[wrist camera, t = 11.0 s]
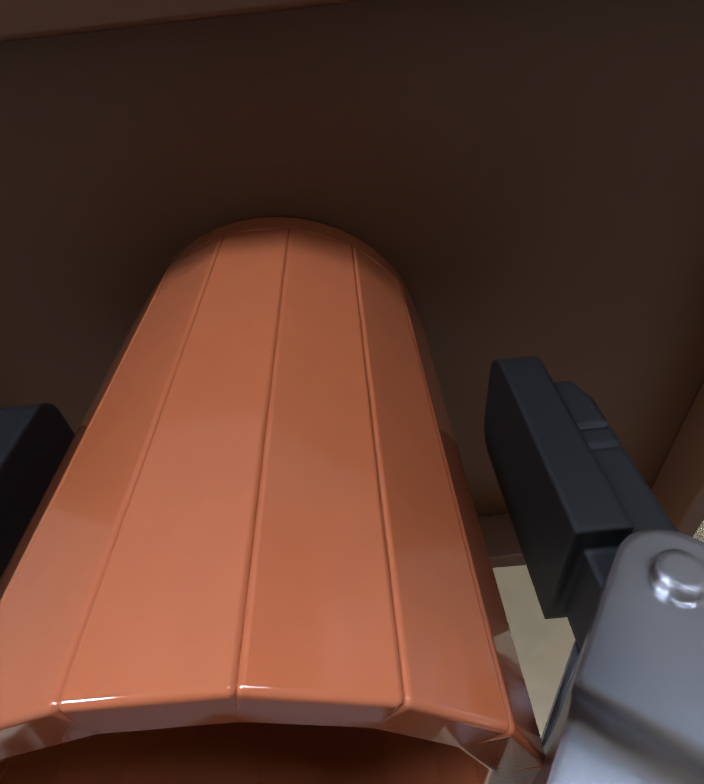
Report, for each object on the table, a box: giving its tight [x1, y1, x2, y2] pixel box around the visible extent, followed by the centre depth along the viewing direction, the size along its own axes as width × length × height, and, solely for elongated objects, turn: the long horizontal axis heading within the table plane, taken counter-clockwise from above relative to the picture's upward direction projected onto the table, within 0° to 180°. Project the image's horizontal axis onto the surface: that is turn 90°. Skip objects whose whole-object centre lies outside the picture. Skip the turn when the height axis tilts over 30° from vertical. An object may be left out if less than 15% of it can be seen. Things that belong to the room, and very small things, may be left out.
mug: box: [0, 217, 545, 784], centre depth 9 cm, size 8×6×8 cm
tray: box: [0, 0, 704, 568], centre depth 11 cm, size 19×14×2 cm
